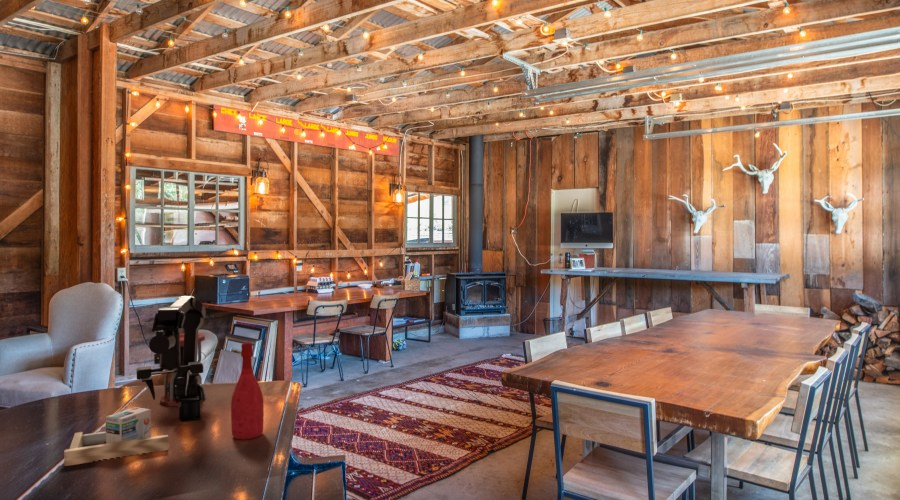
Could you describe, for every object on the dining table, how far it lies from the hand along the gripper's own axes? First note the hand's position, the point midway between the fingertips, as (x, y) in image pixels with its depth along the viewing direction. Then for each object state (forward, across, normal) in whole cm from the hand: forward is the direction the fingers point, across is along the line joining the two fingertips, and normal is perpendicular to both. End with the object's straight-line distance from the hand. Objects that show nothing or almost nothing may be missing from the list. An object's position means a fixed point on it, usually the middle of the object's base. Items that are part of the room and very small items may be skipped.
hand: (170, 397), depth 182 cm
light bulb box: (+14, +12, +1) cm, 18 cm away
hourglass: (+13, -7, -45) cm, 48 cm away
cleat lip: (+13, +21, -8) cm, 26 cm away
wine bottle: (+14, -22, +8) cm, 27 cm away
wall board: (+13, +14, +1) cm, 19 cm away
